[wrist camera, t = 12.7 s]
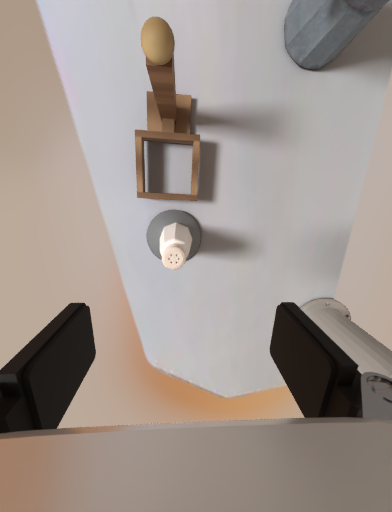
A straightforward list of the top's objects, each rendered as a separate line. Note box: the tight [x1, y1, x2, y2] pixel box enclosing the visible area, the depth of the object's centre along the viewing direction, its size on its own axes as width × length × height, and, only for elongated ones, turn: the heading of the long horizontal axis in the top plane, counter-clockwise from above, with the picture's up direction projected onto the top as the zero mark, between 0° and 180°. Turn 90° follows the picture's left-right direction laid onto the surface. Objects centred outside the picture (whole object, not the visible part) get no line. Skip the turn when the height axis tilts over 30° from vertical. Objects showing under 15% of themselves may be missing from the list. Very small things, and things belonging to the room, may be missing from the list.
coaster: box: [147, 210, 201, 260], centre depth 34 cm, size 9×9×1 cm
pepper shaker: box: [160, 222, 192, 269], centre depth 28 cm, size 5×5×11 cm
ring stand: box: [135, 17, 200, 201], centre depth 22 cm, size 14×9×16 cm, turn 177°
